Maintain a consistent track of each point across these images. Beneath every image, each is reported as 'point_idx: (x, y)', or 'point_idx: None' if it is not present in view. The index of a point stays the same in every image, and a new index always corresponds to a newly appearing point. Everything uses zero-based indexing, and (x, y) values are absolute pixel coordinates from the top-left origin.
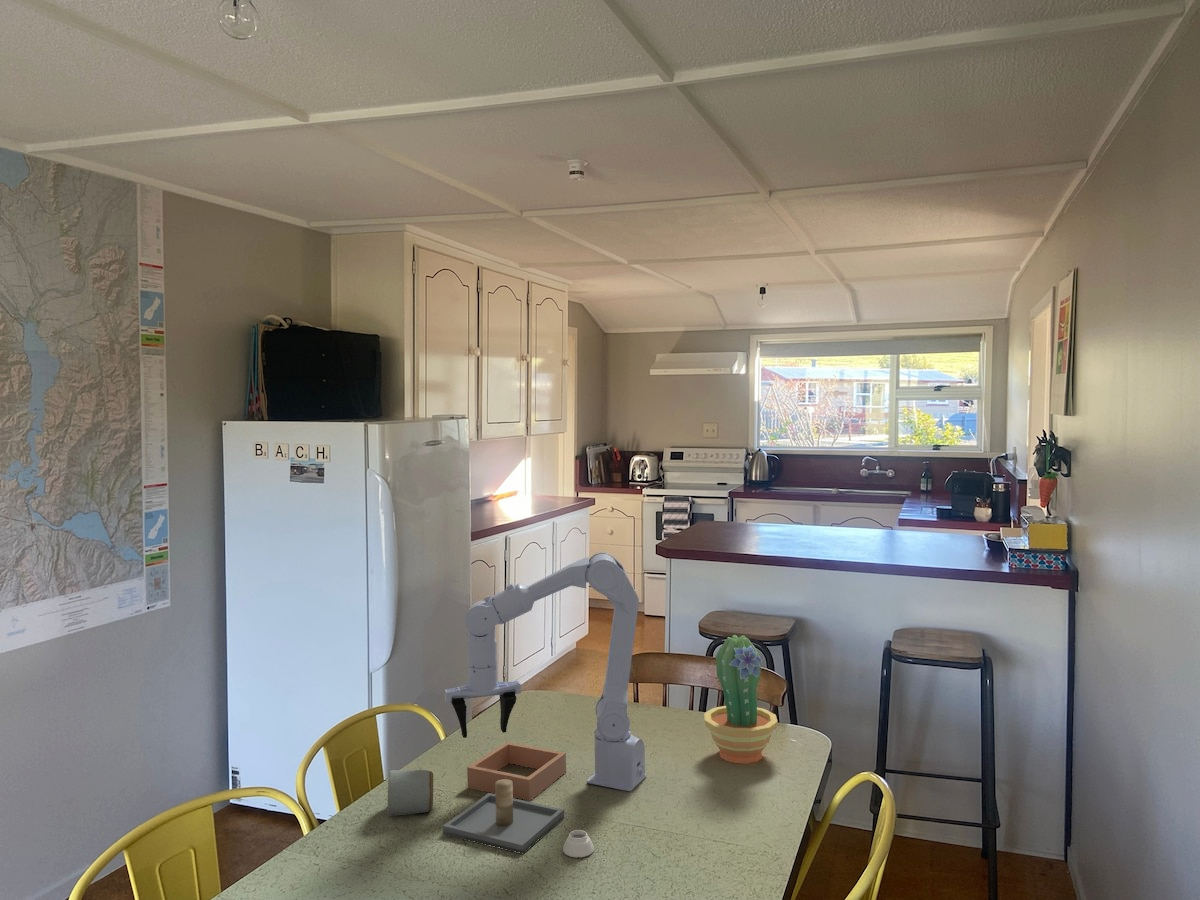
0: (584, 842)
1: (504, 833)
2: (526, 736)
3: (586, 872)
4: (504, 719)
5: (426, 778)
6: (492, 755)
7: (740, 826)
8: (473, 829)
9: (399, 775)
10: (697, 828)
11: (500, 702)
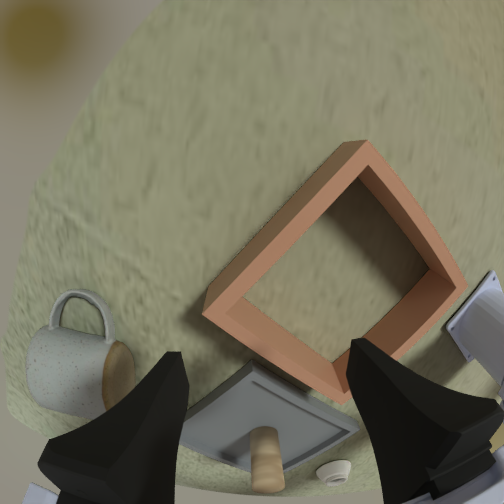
0: (337, 481)
1: None
2: (407, 14)
3: (321, 485)
4: (367, 425)
5: None
6: (297, 238)
7: None
8: (212, 438)
9: (53, 408)
10: None
11: (413, 416)
